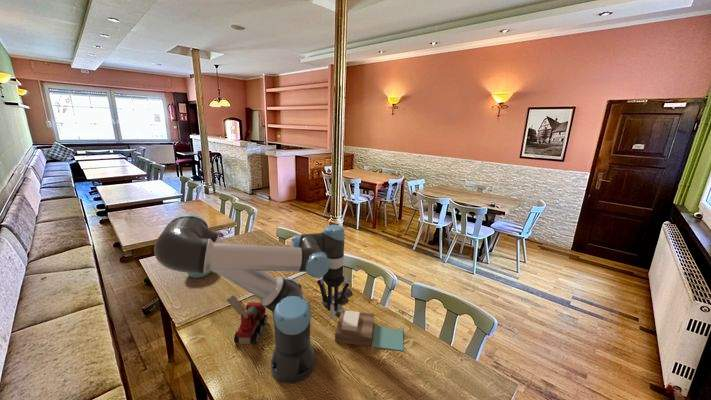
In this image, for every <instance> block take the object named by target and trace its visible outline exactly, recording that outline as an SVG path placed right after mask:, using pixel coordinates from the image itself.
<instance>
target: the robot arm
mask: <svg viewBox="0 0 711 400" xmlns="http://www.w3.org/2000/svg"><path fill="white" fill-rule="evenodd" d="M345 237H346V236H345V229H344V227H343V226H341V225H339V224H330V225H326V226H325V227H324V230H323V231H322V232H315V233H305V234H303V233H301V234H296V235H293V236H292V237H291V241H290V243H291V244H290V245H291V246H279V245H278V246H276V245H261V244H260V245H259V244H244V243H242V244H240V243H227V242H221V240H220V235H219V234H218V233H216V232H214V231H213V230H212V229H211V228H209V224H208V223H207V221H205V220H204V218H202V217H200V216H198V215H196V214H192V213H191V214H182V215H179V216H177V217H174V218H173V219H172V220H171V221H170V222H169V223H167V225H166V226H165V228H164V229H163V231H162V232H161V234H159V236H158V238H157V239H156V240H155V242H154V247H153V253H154V256H155V258H156V260H157V261H158V263H159V264H160V265H162V266H163V267H165V268H166V269H168V270H171V271H175V272H179V273H206V272H208V271H209V270H212V271H213V272H215V274H218V275H220V276H222V277H223V278H225V279H227V280H228V281H229V282H231V283H233V284H235V285H237V286H238V287H240V288H241V289H243V290H245V291H247V292H249V293H250V294H252V295H253V296H255V297H257V298H259V299H260V303H261V304H262V305H263V306H264V307H265V308H266V309H267V310H270V311H271V312H272V317H273V319H272V320H273V323H274V324H273V325H274V326H273V327H274V342H275V343H274V344H275V345H274V346H275V348H274V350H273V353H272V357H271V359H270V372H271V374H272V376H273V377H274V378H275V379H276V380H277V381H279V382H281V383H286V384H293V383H298V382H301V381H304V380H305V379H307V378H308V377H309V376H310V375H311V374H312V373H313V371H315V370H314V369H315V367H316V354H315V351H314V349H313V346H312V344H311V319H312V315H311V314H312V311H311V308H310V304H309V303H308V300H306V299H304V293H303V290H302V287H301V288H300V286H299V284H300V283H298V281H296V280H294V279H293V278H288V277H286V278H284V277H282V276H281V275H280V276H276V277H274V276H273V275H272V274H271V273H270V272H297V273H298V272H300V273H303V272H304V273H307V274H308V276H310V277H311V278H313V279H314V278H315V279H317V281H316V283H317V285H318V287H319V289H320V293H321V298H322V299H323V302H324V303H328V306H327V311H328V312H329V311H330V312H329V313H330V314H329V319H330V320H335V317H336V316H335V311H336V312H337V310H338V304H340V305H342V304H343V303H342V301H343V300H344V299H345V298H344V294H345V291H346V289H347V288H349V286H350V283H351V281H350V280H346V279H345V276H344V262H345V261H344V260H345V259H344V258H345V239H346V238H345ZM268 272H269V273H268ZM325 284H326V285H327V290H326V285H325ZM341 285H342V286H343V288H342V290H341V291H342V294H341V297H340V299H338V292H340V291H339V290H340V289H339V287H340V286H341ZM333 289H334V293H333ZM333 294H334V301H332V295H333Z"/></svg>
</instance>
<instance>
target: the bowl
mask: <svg viewBox="0 0 711 400" xmlns="http://www.w3.org/2000/svg"><path fill="white" fill-rule="evenodd" d="M212 271H213V270H209V271H208V272H206V273H187V275H188V277H191V278H194V279H199V278H205V277H206V276H208V275H209V274H211V272H212Z"/></svg>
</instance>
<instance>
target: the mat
mask: <svg viewBox="0 0 711 400" xmlns="http://www.w3.org/2000/svg"><path fill="white" fill-rule="evenodd" d="M383 326H385V325H378V324H373V333H372V342H371V347H372V348H379V349H386V350H393V351H400V352H404V351H405V350H404V328H401V327H397V328H398V330H397V332H396V331H394V330H393V329H390V328H386V326H385V327H383ZM385 328H386V329H385ZM400 329H401V330H400ZM398 331H399V332H398Z"/></svg>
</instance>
